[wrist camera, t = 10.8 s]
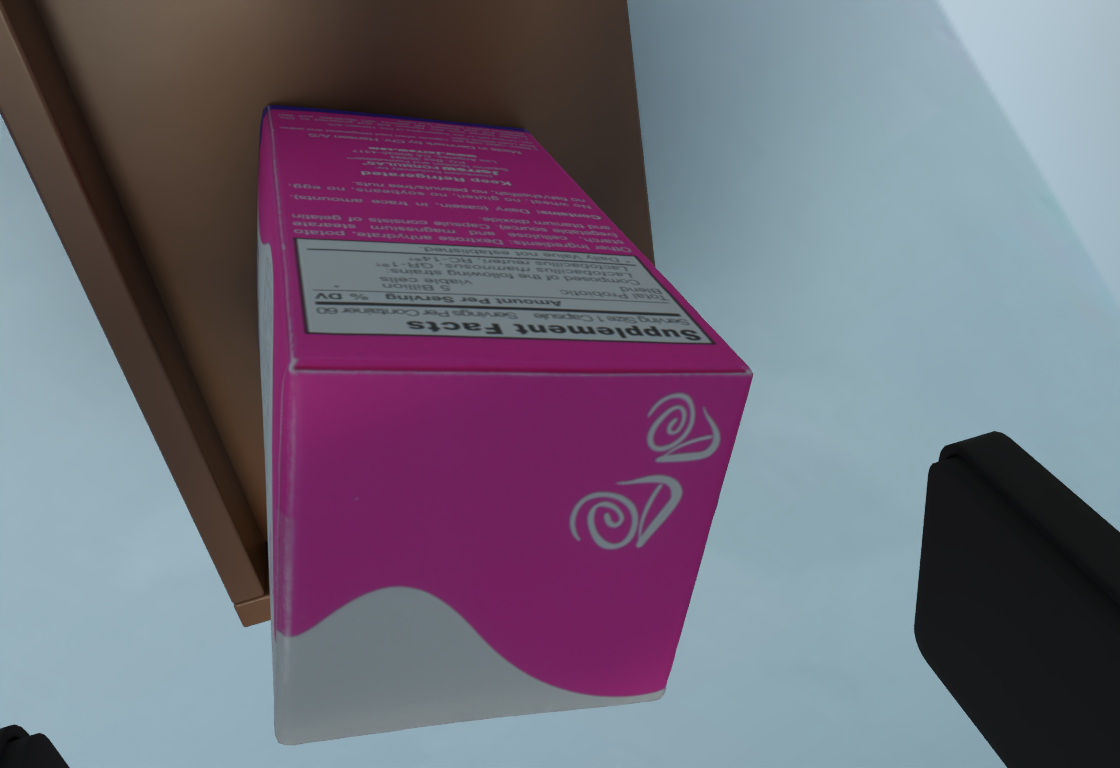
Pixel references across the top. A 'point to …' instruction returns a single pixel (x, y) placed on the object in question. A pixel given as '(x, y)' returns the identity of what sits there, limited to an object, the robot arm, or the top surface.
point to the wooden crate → (232, 177)
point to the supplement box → (471, 430)
